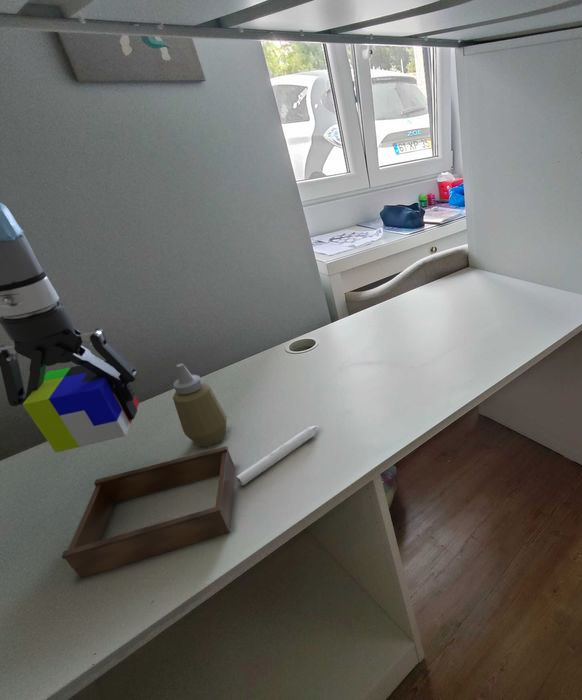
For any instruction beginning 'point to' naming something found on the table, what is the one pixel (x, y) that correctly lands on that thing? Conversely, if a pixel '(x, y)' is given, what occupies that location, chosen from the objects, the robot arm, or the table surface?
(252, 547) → the table surface
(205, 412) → the squeeze bottle
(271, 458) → the marker
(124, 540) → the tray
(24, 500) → the table surface
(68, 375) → the puzzle toy
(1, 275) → the robot arm
